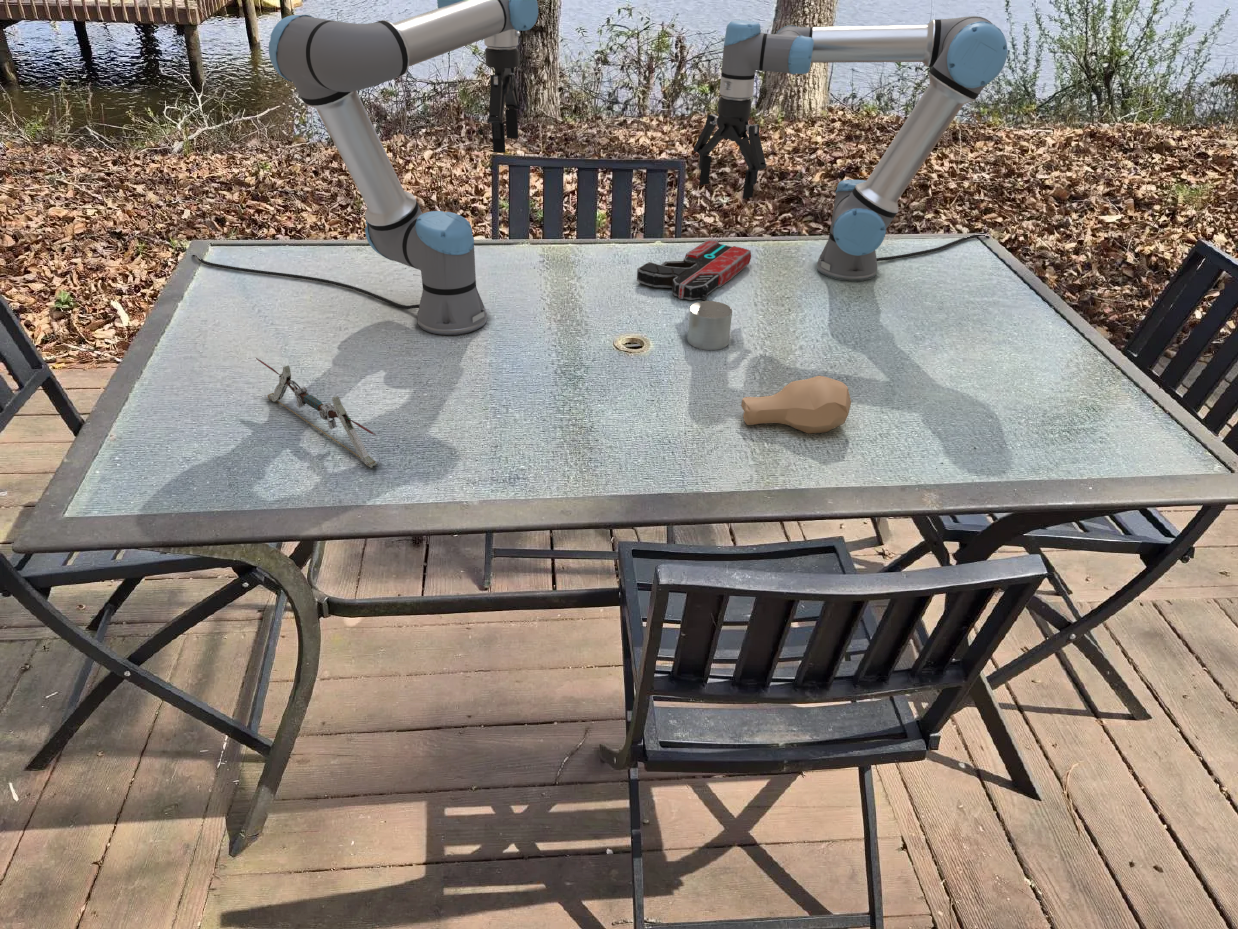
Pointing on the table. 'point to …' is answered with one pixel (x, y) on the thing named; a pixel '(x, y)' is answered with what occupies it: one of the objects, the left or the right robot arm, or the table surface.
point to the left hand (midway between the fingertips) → (506, 144)
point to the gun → (697, 270)
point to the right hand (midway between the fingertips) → (725, 190)
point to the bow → (322, 411)
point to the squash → (802, 405)
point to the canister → (709, 325)
